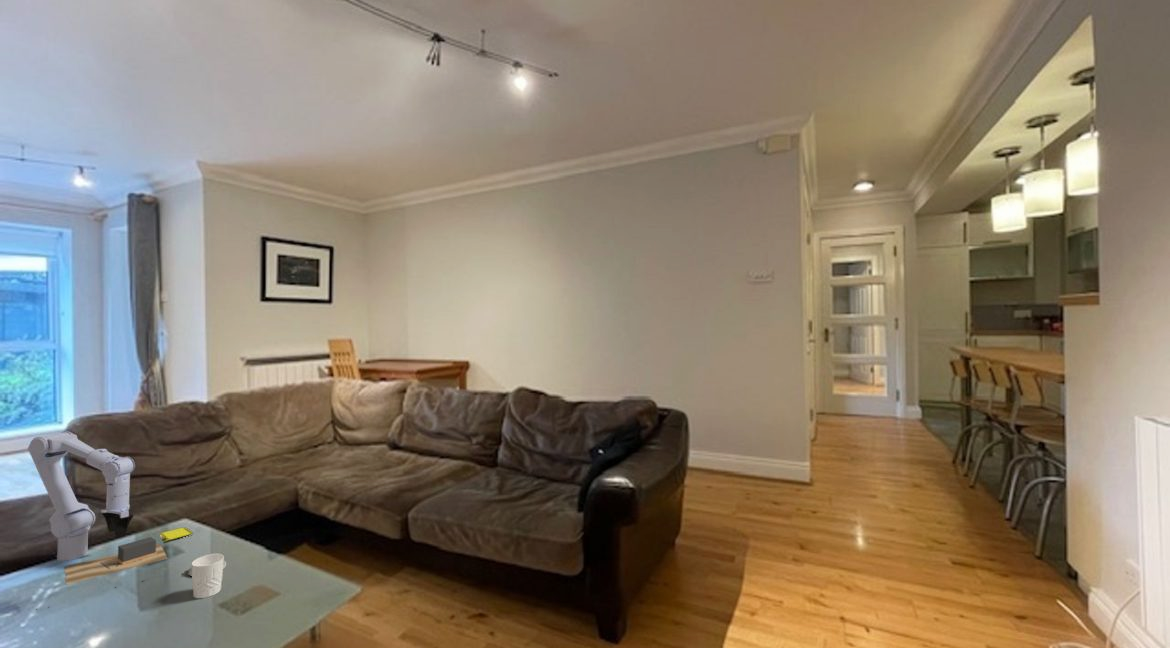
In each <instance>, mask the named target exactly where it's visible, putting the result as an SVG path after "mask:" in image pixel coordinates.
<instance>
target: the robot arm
mask: <svg viewBox="0 0 1170 648" xmlns="http://www.w3.org/2000/svg"><path fill="white" fill-rule="evenodd" d="M27 450H28V452H29V455H30V456H31V459H32V461H33V463H34V465H35V469H36V470H37V472H38V475H39V477H40V479H41V482H42V484H43V486H44V488H45V489H46V493H47V495H48V497H49V498H50V501H51V503H52V505H53V508H54V510H55V512H54V513H53V514H52V515H51V516H50V518H48V520H49V523H50V531H51V534H52V535H53V536H54V537H55V538H57V555H56V556H55V558H56V559H57V561H59V562H65V561H66V562H67V561H72V560H76V559H79V558H82V557H85V556H86V555H87V554H88V552H89V551H88V550H89V547H88V544H89V542H88V541H89V531H90V530H91V526H93V525H94V524H95V522H96V515H95V513H94V512H93V510H91V508H90V507H89V505H88V504H86V503H82V502H78V499H77V498H76V495H75V493H74V492H73V489H72V487H71V485H70V482H69V480H68V478H67V476H66V474H65V471H64V469H63V467H62V465H61V463H60V462H61V459H62V458H64V457H66V455H67V454H68V453H70V454H73V455H75V456H79V457H81V458H83V459H85V462H86V464H87V465H89V466H91V467H93V468H95V469H96V470H97V469H98V470H99V471H101V473H102V476H103V477H104V481H105V484H106V501H105V503H106V505H105V508H103V509H101V510H100V512H101V515H102V516H103V518H104V521H105V523H106V526H107V530H108V533H112V532H114V536H115V537H116V538H118V539H119V538H122V537H125V536H126V534H127V532H128V528H129V526H130V525H129V524H130V523H131V521H132V519H133V518H134V514H133V513H131V514H130V512H129V510H130V506H131V504H130V487H131V480H130V479H131V473H133V471H134V470H135V468H136V464H135V463H136V462H135V461H134V459H133V458H131V457H130V456H124V457H123V456H119V455H117V454H114V453H112V452H109V451H108V449H106V448H96V449H95V448H94V447H92V446H90V445H89V444H86V443H85V442H83V441H82V440H80V439H78V435H77V434H74V433H73V432H71V431H62V432H58V433H54V434H47V435H42V436H36V437H34V438H32V440H31V441H30V443H29V445H28V448H27Z"/></svg>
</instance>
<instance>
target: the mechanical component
mask: <svg viewBox="0 0 1170 648" xmlns="http://www.w3.org/2000/svg"><path fill="white" fill-rule="evenodd" d="M213 554H220V553H219V552H218V553H217V552H215V553H208V554H205V555H201V556H199V557H197V558H195V560H196V559H198V558H200V557H203V556H207V555H213ZM225 567H227V562H226V560H224V563H223V569H224V568H225ZM225 569H226V568H225ZM225 569H224V570H225ZM189 575H190V576H192V566H191V567H189V569H188V576H189ZM190 576H189V577H190Z"/></svg>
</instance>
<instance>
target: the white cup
mask: <svg viewBox="0 0 1170 648" xmlns="http://www.w3.org/2000/svg"><path fill="white" fill-rule="evenodd" d="M212 554H213V555H208V554H206V555H207V556H204V555H202V556H203V557H201V556H199V557H200V558H199V557H197V558H198V559H196V558H195V560H193V561H192V562H191V567H192V577H191V582H192V596H193V598H194V599H206V598H210V597H213V596H214V595H216V594H219V592H220V591H222V580H223V574H224V573H223V572H224V570H223V563H224V561H225V556H224V555H223V554H222V553H219V554H217V553H216V554H214V553H212Z"/></svg>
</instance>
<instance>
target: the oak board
mask: <svg viewBox="0 0 1170 648" xmlns="http://www.w3.org/2000/svg"><path fill="white" fill-rule="evenodd" d="M156 552H157V554H156V555H153V556H150V557H147V558H143V559H140V560H137V561H134V562H130V563H127V564H124V565H122V564H121V563H119V562H118V561H117V558H118V553H117V554H113V555H109V556H105V557H100V558H96V559H92V560H87V561H84V562H79V563H75V564H71V565H68V566H67V565H66V566H64V571H65V572H64V573H65V583H66V585H71V584H74V583H78V582H83V581H86V580H90V579H95V578H97V577H98V578H99V577H102V576H106V575H110V574H114V573H117V572H121V571H125V570H128V569H133V568H135V567H136V568H137V567H141V566H145V565H148V564H149V565H150V564H152V563H153V564H154V563H157V562H160V561H163V560H164V561H165V560H168V559H169V558H168V555H167V554H166V552H165V550H164V548H163V547H162V544H161V543H159V544H156Z"/></svg>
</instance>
